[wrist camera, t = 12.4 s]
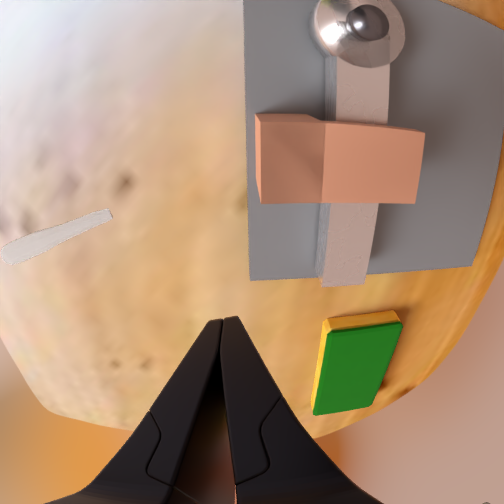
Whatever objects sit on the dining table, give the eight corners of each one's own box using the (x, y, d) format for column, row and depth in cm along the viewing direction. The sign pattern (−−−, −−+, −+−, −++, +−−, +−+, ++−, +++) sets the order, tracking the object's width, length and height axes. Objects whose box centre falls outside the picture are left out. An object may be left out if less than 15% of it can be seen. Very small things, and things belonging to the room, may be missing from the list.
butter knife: (-9, 240, 21) (5, 269, 22) (299, 130, 19) (309, 174, 20) (-5, 238, 21) (9, 266, 22) (298, 129, 19) (307, 172, 20)
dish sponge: (394, 306, 27) (404, 324, 25) (365, 391, 34) (371, 406, 32) (322, 315, 27) (328, 334, 25) (309, 400, 34) (312, 416, 32)
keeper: (254, 113, 17) (260, 121, 13) (390, 120, 17) (425, 133, 13) (255, 178, 19) (260, 204, 15) (384, 179, 19) (414, 203, 15)
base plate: (242, -28, 13) (243, -34, 12) (498, 32, 13) (506, 32, 13) (249, 272, 23) (250, 280, 23) (465, 260, 24) (471, 266, 23)
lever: (306, -12, 13) (320, -29, 10) (386, 1, 13) (411, -9, 10) (300, 269, 22) (309, 297, 19) (366, 265, 22) (382, 291, 19)
